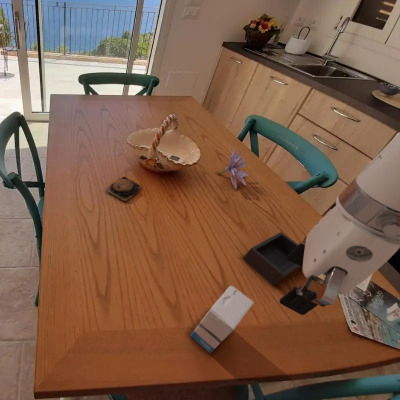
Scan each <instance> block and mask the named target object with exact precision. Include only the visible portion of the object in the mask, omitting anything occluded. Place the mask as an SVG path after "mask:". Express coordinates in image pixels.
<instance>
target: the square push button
mask: <svg viewBox="0 0 400 400" xmlns="http://www.w3.org/2000/svg"><path fill="white" fill-rule="evenodd" d="M140 189H141V185H140V184H139V183H137V182H135V181H133V180H131V179H129V178H127V177H126V176H123V177H121V178H120V179H118V180H117V181H115V182H114V183H111V184H110V188H108V190H107V193H108V194H110V195H112V196H114V197H115V198H117V199H119V200H121V201H122V202H127V201H129V200H130V199H132V198H133V197H134V196H135V195H136V194H137V193H138V191H140Z"/></svg>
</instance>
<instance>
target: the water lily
mask: <svg viewBox="0 0 400 400" xmlns="http://www.w3.org/2000/svg"><path fill="white" fill-rule="evenodd" d="M242 157H243V156H242V155H241V151H239V152H238V153H237V151H236V148H233V150H232V152H231V155H230V156H229V159H228V165H227V166H226V167H225V169H224V170H221V171H219V172H218V173H217V174H218V175H220V174H223V173H225V172H226V173H228V174H229V175H230V176H229V177H230V180H231V183H232V185H233V188H234V189H235V190H237V186H238V183H237V180H238V181H239V182H240V183H241V184H243V185H244V186H247V183H246V181H245V179H244V177H248V176H250V174H248V172H246V171H244V170H242V169H243V168H244V167H246V166H247V165H248V162H247V161H245V160H246V159H245V158H244V157H243V158H242Z"/></svg>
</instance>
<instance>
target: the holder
mask: <svg viewBox="0 0 400 400" xmlns="http://www.w3.org/2000/svg"><path fill="white" fill-rule="evenodd" d="M298 245H299V243H297V242H295V241H294V240H293V239H291V238H290V237H289V236H288V235H286V234H285V233H283V232H282V231H280V232H278V233H276V234H275V235H272V236H271V237H269V238H268V239H265V240H264V241H262V242H260V243H258V244H256V245H253V247H251V248H250V249H249V250H248V251H247V252H246V254H245V255H244V256H243V257H242V260H244V261H245V262H246V263H247V264H249V265H250V266H251V267H252V268H253V269H254V270H255V271H256V272H257V273H258V274H259V275H261V277H263V278H264V279H265V280H266V281H267V282H269V284H271V285H272V286H273V287H274V286H276V285H277V284H279V283H281V282H282V281H284V280H285V279H286V278H288V277H289V276H291V275H292V274H294V273H295V272H297V271H298V270H300V269H303V267H301V266H299V265H297V264H295V263H293V262H291V261H289V260H288V259H287V257H288V255H289V254H290V253H291V252H292V251H293V250H294V249H295V248H296V247H297V246H298Z"/></svg>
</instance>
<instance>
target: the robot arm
mask: <svg viewBox="0 0 400 400" xmlns="http://www.w3.org/2000/svg"><path fill="white" fill-rule="evenodd" d="M399 249H400V131H399V132H398V133H397V134H396V135H395V136H394V137H393V138H392V139H391V140H390V141H389V143H387V145H386V146H385V147H383V148H382V150H381V151H380V152H379V153H378V154H377V155H376V156H375V157H374V158H373V159H372V160H370V162H369V163H368V164H367V165H366V166H365V168H364V169H363V170H361V172H360V173H358V175H357V176H356V177H355V178H354V179H353V180H352V181H351V182H350V183H349V184H348V185H347V186H346V187H345V188H344V189H343V190H342V191H341V193H340V194H339V195H338V196H337V197H336V198H335V206H334V207H333V208H331V209H330V210H329V211H328V212H327V213H325V215H324V216H322V218H321V219H320V220H319V221H318V222H317V223H315V225H314V226H313V227H312V228H311V229H310V231H308V233H307V236H306V237H304V238H303V240H302V242H299V243H298V246H297V247H296V248H295V249H294V250H293V251H292V252H291V253H290V254H289V255H288V257H287V259H288V260H289V261H291V262H293V263H295V264H297V265H299V266H301V267H302V273H303V275H304V278H303V279H302V281H301V282H300V284H299V285H298V287H297V286H294V287H293V288H291V289H290V290H289V291H288V292H287V293H285V294H283V296H281V298H280V299H279V304H280V305H282V306H283V307H286V308H287V309H289V310H291V311H293V312H294V313H297V314H299V315H300V316H301V315H302V316H305V315H306V314H307V313H309V312H310V311H312V310H313V309H315V308H316V307H317V306H319V307H322V308H323V307H326V306H333V305H334V304H335V303H336V301H337V300H338V299H337V298H338V297H339V296H338V295H345V294H348V293H349V292H351V291H352V290H353V289H355V288H356V287H358V286H359V285H361V284H362V283H363V282H364V281H366V280H367V279H368V278H369V277H370V276H372V275H373V274H374V273H375V272H376V271H378V270H380V268H382V267H383V266H384V265H385V264H386V263H387V262H388V261H389V260H390V259H391V258H392V256H394V255H395V254H396V253H397V252H398V251H399ZM321 275H324V276H325V277H324V279H321V278H319V277H318V276H321ZM312 282H315V283H317V284H319V285H321V287H320V289H319V290H317V291H313V290H310V289H309V287H310V286H311V284H312Z"/></svg>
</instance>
